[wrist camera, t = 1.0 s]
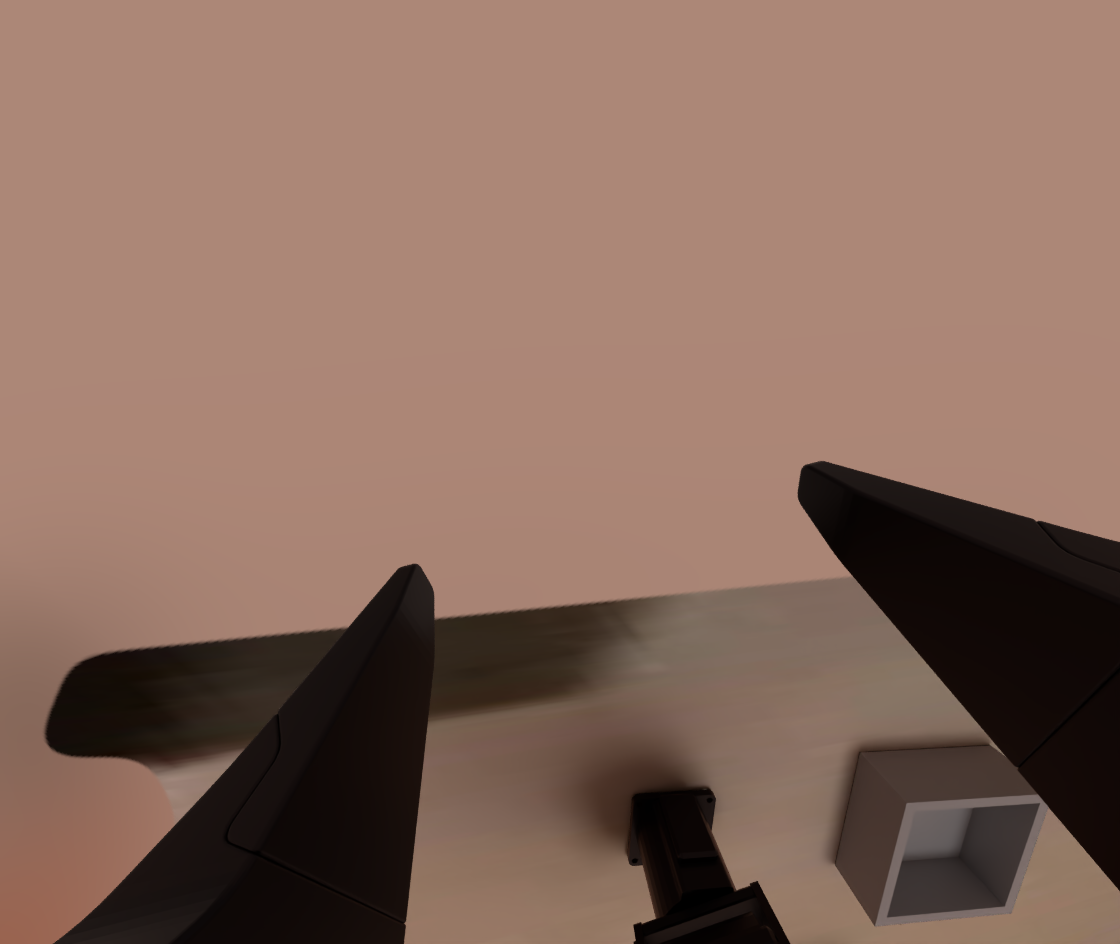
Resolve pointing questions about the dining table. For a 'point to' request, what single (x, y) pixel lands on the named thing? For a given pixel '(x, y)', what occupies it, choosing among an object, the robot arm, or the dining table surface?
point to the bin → (938, 834)
